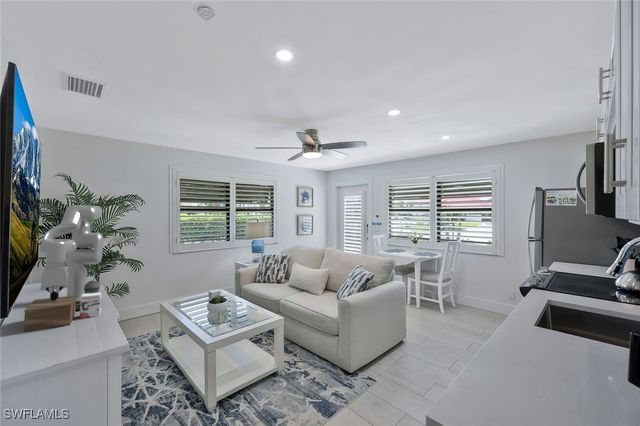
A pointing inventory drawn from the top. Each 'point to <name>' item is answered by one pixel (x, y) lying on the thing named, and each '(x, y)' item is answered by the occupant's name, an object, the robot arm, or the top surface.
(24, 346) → the top surface
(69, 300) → the brown wooden board
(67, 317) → the wooden box
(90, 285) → the beverage cup
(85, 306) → the ink box
